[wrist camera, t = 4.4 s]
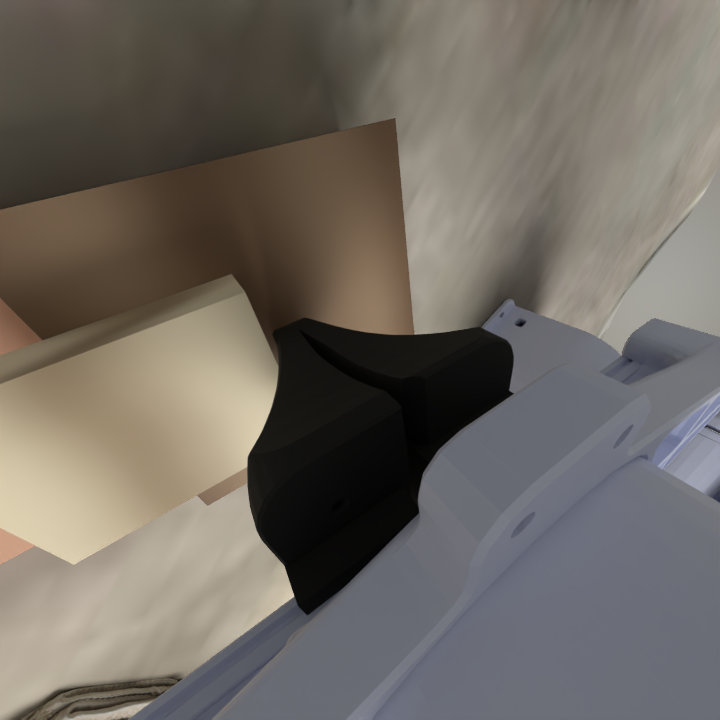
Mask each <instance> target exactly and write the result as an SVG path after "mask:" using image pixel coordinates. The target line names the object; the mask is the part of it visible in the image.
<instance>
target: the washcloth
mask: <svg viewBox="0 0 720 720" xmlns="http://www.w3.org/2000/svg"><path fill="white" fill-rule="evenodd" d="M177 683H178V680H174V679H171V678H163V679H151V680H145V681H138V682H133V683H125V684H110V685H102V686H95V687H85V688H78V689H74V690H71V691H68V692H65V693H61V694H59V695H58V696H56V697H55V698H54V699H52V700H50V701H49V702H48V703H46V704H44V705H42V706H41V707H39V708H37V709H36V710H34V711H32V712H31V713H29V714H28V715H26V716H25V717H24V718H22V719H21V720H128V719H129V718H130V717H132V716H133V715H135V714H136V713H137V712H139V711H140V710H141V709H143V708H144V707H145V706H147V705H148V704H149V703H151V702H152V701H154V700H155V699H156V698H158V697H159V696H160V695H162V694H163V693H164V692H166V691H167V690H168V689H170V688H171V687H173V686H174V685H175V684H177Z"/></svg>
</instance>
